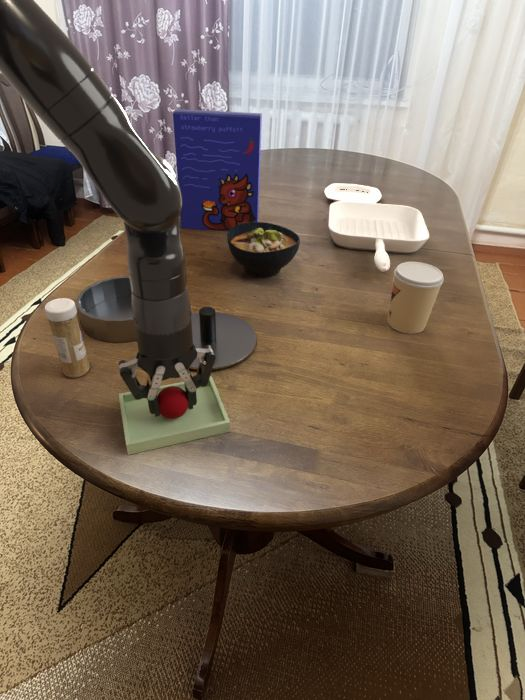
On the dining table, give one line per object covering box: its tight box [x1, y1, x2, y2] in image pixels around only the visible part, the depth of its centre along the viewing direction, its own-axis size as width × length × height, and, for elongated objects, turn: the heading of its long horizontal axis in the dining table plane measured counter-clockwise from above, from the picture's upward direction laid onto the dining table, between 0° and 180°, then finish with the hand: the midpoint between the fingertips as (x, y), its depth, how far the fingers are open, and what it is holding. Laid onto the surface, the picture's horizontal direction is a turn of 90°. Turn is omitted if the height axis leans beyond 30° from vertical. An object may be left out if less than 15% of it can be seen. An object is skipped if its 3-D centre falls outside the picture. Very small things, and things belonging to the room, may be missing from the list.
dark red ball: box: [157, 386, 189, 419], centre depth 71 cm, size 5×5×5 cm
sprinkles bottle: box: [44, 297, 91, 378], centre depth 77 cm, size 5×5×13 cm
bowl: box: [226, 221, 301, 278], centre depth 111 cm, size 17×17×10 cm
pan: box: [327, 201, 430, 272], centre depth 126 cm, size 27×44×5 cm, turn 172°
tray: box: [118, 375, 231, 456], centre depth 72 cm, size 15×11×2 cm
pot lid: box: [188, 306, 257, 371], centre depth 87 cm, size 18×18×7 cm
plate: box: [324, 182, 383, 203], centre depth 159 cm, size 19×19×2 cm
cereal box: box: [172, 108, 263, 232], centre depth 126 cm, size 22×6×30 cm, turn 87°
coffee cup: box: [387, 261, 445, 335], centre depth 94 cm, size 9×9×12 cm
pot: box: [75, 275, 137, 344], centre depth 94 cm, size 17×17×5 cm
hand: (173, 408), depth 72 cm, fingers closed on dark red ball, 4 cm apart
